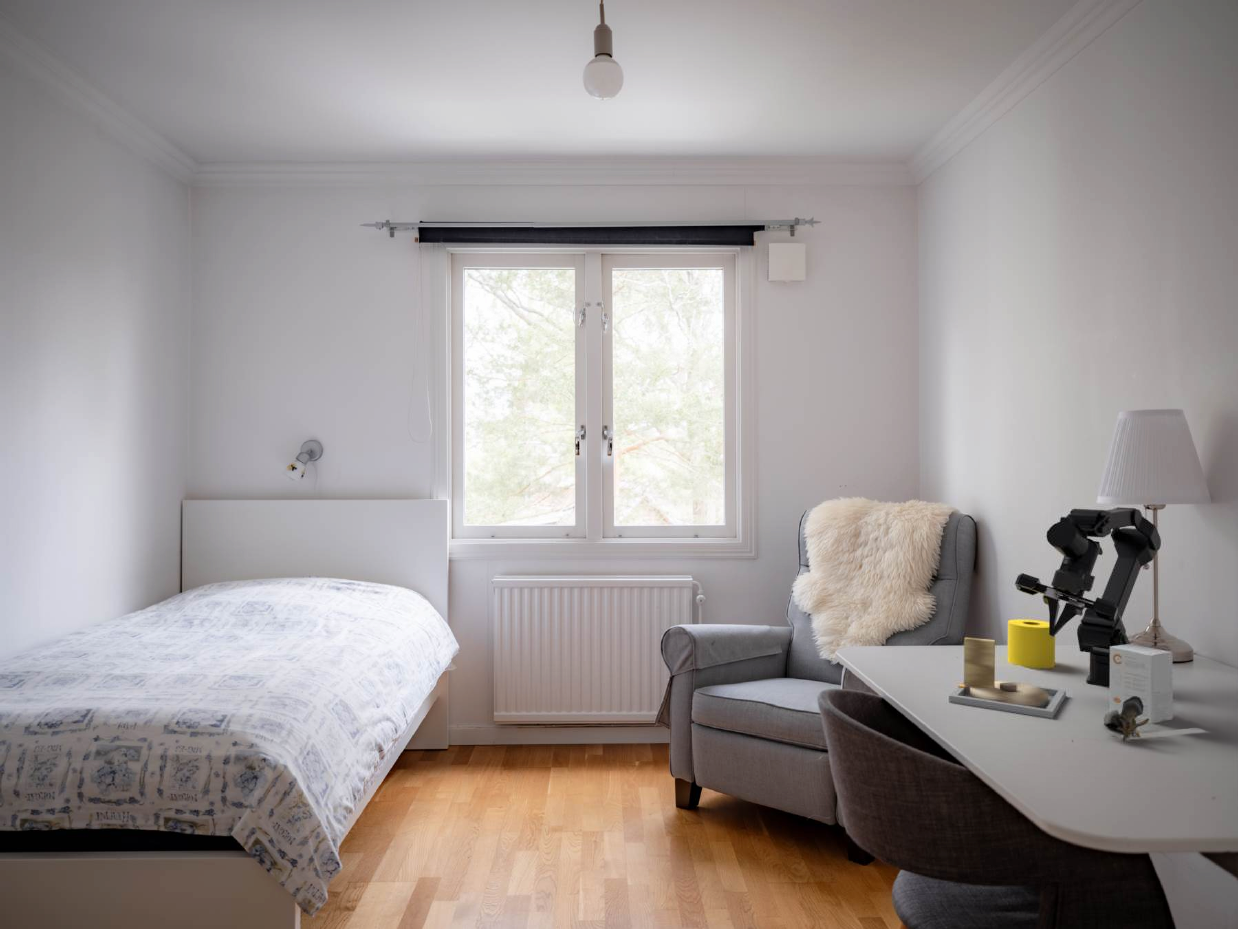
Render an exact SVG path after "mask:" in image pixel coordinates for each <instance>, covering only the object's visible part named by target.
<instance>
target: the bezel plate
mask: <svg viewBox="0 0 1238 929" xmlns="http://www.w3.org/2000/svg"><path fill="white" fill-rule="evenodd" d="M995 681H1000V680H998V679H995ZM1025 684H1026V683H1025ZM1026 685H1028V683H1027V684H1026ZM1030 685H1031V686H1034V687H1038V688H1040V689H1042V690H1044V691H1046V692H1047V693H1048V704H1047V705H1046V706H1044V707H1040V708H1036V707H1029V706H1023V705H1017V704H1010V703H1004V702H997V701H991V700H984V699H978V698H972V697H971V696H970V686H964V682H963V683H959V684H958V685H957V688H956V689H955V690H953V691H952V692H951V693H950V694H949V695H948V703H952V704H953V703H954V704H958V705H959V704H960V705H966V706H971V707H977V708H983V709H989V710H997V711H1002V712H1008V713H1009V712H1010V713H1013V714H1014V713H1016V714H1021V715H1027V716H1034V717H1040V718H1044V719H1045V718H1047V719H1050V720H1051V719H1053V718H1054V717H1055V715H1056V713H1057V712H1058V710H1059V709H1060V706H1061V705H1062V703H1063V702H1064V700H1065V699H1066V697H1067V691H1066V689H1061V688H1056V687H1055V688H1054V687H1047V686H1042V685H1041V686H1040V685H1034V684H1033V685H1032V684H1030Z"/></svg>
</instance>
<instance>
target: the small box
mask: <svg viewBox="0 0 1238 929" xmlns="http://www.w3.org/2000/svg"><path fill="white" fill-rule="evenodd" d="M1173 674H1174V672H1173V652H1172V651H1169V650H1168V651H1167V650H1163V649H1158V648H1153V647H1148V646H1142V645H1137V644H1133V643H1130V644H1126V645H1118V646H1110V686H1109V712H1111V711H1113V710H1117V711H1118V713H1119V714H1120V713H1121V712H1122V707H1123V702H1124V701H1126V700H1127V699H1129V698H1131V697H1132V696H1137V697H1140V699H1141V701H1142V704H1143V705H1144V707H1143V713H1142V714H1141V715H1140V716H1137V717H1136V718H1135V720H1138V721H1140V722H1142V721H1144V720H1146V719H1148V718H1149V721H1148V722H1147V723H1149V724H1155V723H1160V722H1165V721H1166V722H1167V721H1170V720H1173V719H1174V718H1173V717H1174V716H1173V698H1174V697H1173V693H1174V692H1173V690H1174V689H1173V688H1174V687H1173V685H1174V684H1173V680H1174V679H1173Z"/></svg>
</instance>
